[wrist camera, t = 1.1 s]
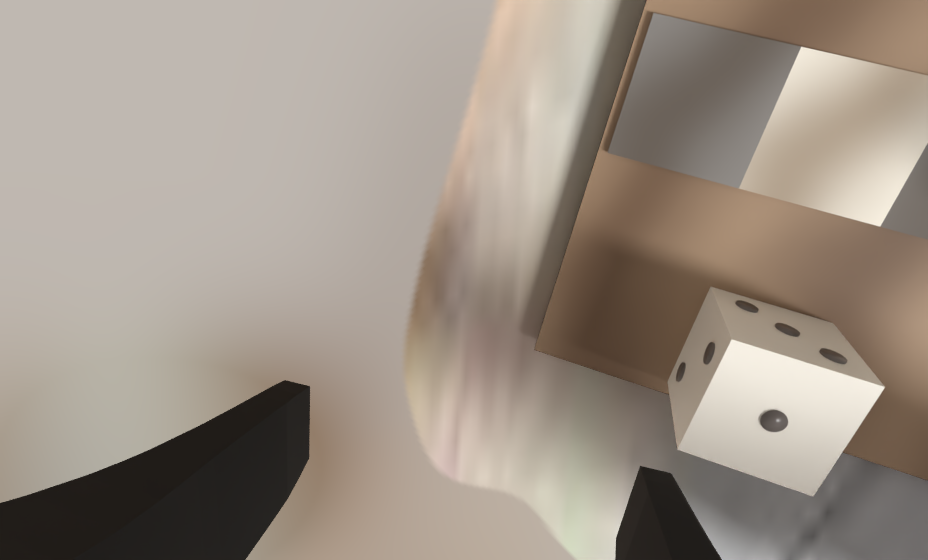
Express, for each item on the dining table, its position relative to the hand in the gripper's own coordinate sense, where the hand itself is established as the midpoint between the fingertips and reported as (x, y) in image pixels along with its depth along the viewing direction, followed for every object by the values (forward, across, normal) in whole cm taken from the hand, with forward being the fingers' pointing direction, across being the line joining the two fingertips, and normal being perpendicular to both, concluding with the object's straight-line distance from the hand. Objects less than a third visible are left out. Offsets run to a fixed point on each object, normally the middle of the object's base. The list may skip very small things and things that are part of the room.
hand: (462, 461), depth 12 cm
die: (+9, -8, +1) cm, 12 cm away
